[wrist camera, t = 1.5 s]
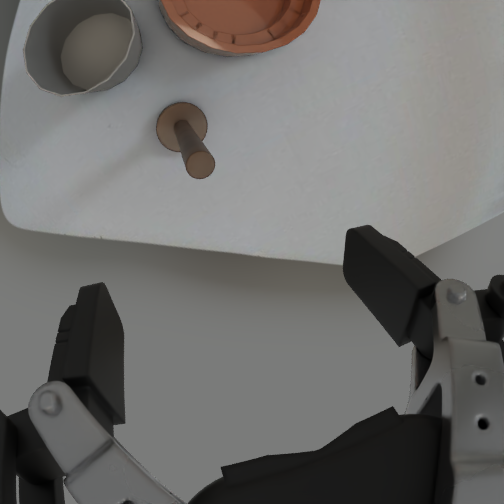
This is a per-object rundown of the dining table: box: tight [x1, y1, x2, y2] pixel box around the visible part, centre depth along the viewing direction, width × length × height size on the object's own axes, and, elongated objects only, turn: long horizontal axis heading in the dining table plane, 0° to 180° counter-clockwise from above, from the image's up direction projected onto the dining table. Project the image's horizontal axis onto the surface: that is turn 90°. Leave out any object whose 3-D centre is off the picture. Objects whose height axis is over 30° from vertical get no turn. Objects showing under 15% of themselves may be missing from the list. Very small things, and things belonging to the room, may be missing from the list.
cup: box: [23, 0, 143, 97], centre depth 19 cm, size 8×8×10 cm
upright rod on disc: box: [156, 102, 215, 179], centre depth 23 cm, size 5×5×16 cm
